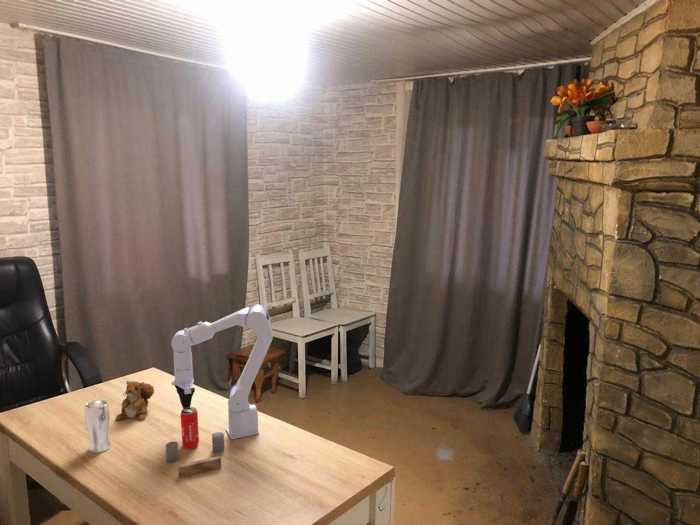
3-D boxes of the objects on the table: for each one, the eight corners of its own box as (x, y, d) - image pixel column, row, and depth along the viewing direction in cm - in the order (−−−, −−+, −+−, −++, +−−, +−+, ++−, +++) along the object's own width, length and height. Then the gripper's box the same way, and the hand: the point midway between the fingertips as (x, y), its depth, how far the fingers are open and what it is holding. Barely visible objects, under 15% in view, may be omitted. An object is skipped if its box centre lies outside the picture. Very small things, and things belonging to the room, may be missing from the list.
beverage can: (194, 450, 172) (192, 414, 170) (179, 448, 173) (177, 413, 171) (201, 441, 177) (200, 407, 175) (187, 440, 178) (185, 406, 176)
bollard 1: (177, 455, 169) (177, 440, 168) (179, 461, 166) (178, 446, 165) (165, 458, 168) (164, 443, 167) (167, 463, 164) (166, 448, 163)
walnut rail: (220, 464, 164) (219, 455, 163) (221, 467, 162) (220, 458, 162) (178, 474, 159) (178, 465, 158) (179, 477, 157) (179, 467, 157)
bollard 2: (222, 445, 175) (222, 431, 174) (225, 450, 172) (224, 436, 171) (211, 448, 173) (210, 433, 173) (213, 453, 170) (213, 438, 169)
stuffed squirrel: (113, 421, 191) (110, 386, 188) (134, 404, 205) (132, 371, 202) (140, 423, 190) (138, 388, 187) (159, 405, 203) (157, 372, 201)
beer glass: (116, 445, 175) (113, 401, 172) (98, 455, 169) (94, 410, 166) (101, 440, 178) (97, 397, 175) (83, 450, 172) (78, 406, 169)
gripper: (167, 361, 182) (170, 399, 184) (173, 377, 169) (176, 417, 171) (189, 358, 185) (191, 396, 187) (197, 373, 172) (199, 413, 174)
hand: (185, 406), depth 179 cm, fingers open, 3 cm apart
